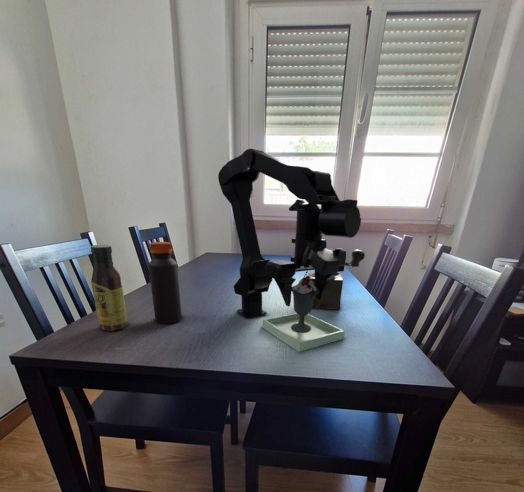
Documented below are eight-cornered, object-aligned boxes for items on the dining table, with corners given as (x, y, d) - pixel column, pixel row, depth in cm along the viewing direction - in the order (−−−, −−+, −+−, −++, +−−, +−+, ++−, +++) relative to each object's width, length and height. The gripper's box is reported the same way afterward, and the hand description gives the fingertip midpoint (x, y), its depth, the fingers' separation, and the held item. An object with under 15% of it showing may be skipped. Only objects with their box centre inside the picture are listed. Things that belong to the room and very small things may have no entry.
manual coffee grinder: (305, 308, 86) (310, 248, 79) (305, 298, 96) (309, 244, 90) (358, 312, 84) (367, 250, 78) (352, 301, 94) (360, 246, 88)
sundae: (298, 336, 66) (303, 274, 59) (282, 325, 71) (286, 267, 65) (320, 331, 69) (327, 270, 62) (303, 320, 74) (309, 264, 68)
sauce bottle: (96, 327, 70) (79, 245, 63) (121, 320, 74) (108, 243, 67) (106, 335, 66) (89, 248, 58) (132, 327, 70) (120, 245, 63)
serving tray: (262, 327, 72) (262, 319, 71) (302, 318, 78) (303, 311, 77) (299, 351, 60) (299, 342, 59) (343, 339, 66) (344, 330, 65)
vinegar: (175, 325, 72) (167, 245, 65) (150, 323, 73) (139, 243, 66) (186, 316, 78) (179, 242, 71) (163, 314, 79) (154, 241, 72)
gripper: (297, 239, 50) (292, 321, 55) (368, 236, 59) (357, 306, 64) (264, 234, 58) (263, 305, 64) (330, 232, 68) (324, 294, 73)
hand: (303, 303), depth 66 cm, fingers open, 9 cm apart
